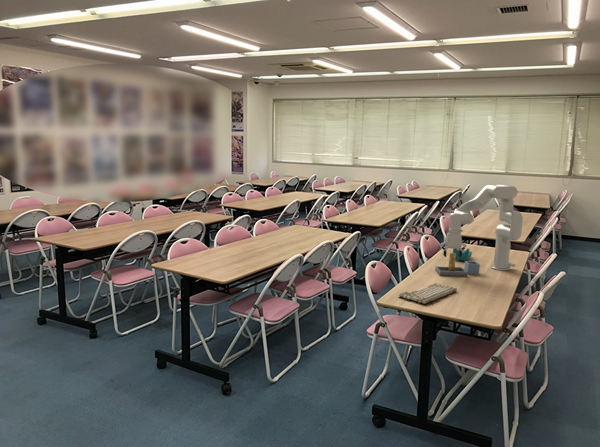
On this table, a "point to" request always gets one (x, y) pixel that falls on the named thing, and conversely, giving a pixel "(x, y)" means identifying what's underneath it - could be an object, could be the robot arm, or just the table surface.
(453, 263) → the dowel
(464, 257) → the teal notched holder
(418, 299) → the mechanical keyboard
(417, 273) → the table surface
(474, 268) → the blue box
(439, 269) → the tray
